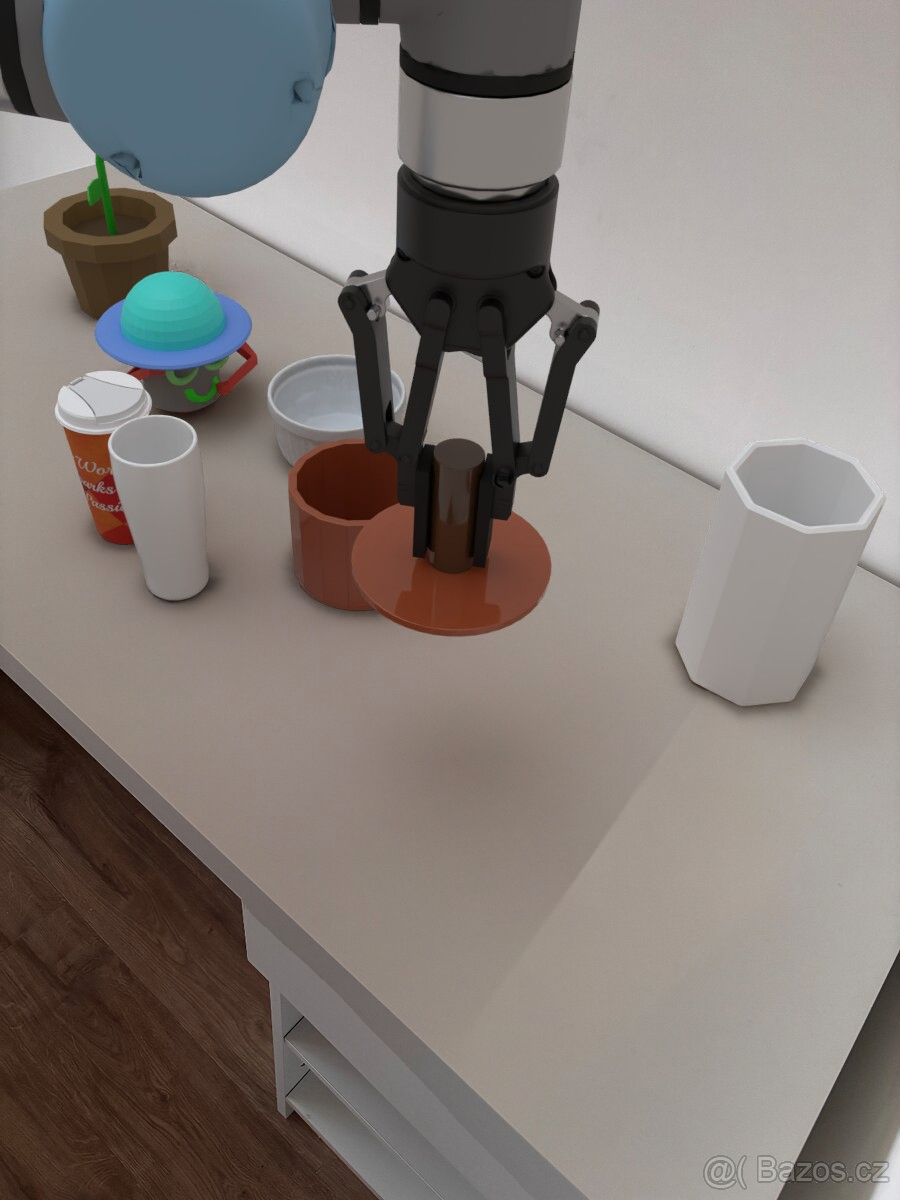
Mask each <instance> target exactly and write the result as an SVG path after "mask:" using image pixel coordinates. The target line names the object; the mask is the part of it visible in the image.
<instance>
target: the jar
mask: <svg viewBox="0 0 900 1200" xmlns="http://www.w3.org/2000/svg"><path fill="white" fill-rule="evenodd" d="M287 476H288V477H287V480H288V482H287V492H288V493H287V495H288V507H289V519H290V532H291V533H290V534H291V547H292V559H293V571H294V574H295V577H296V579H297V582H298V583H299V585H300V586H301V588H302V589H303V590H304V591H305V592H306V593H307V594H308V595H309V596H311V598H313V599H314V600H316V601H318V602H320V603H322V604H324V605H326V606H328V607H332V608H336V609H340V610H345V611H346V610H347V611H353V612H354V611H357V612H358V611H362V612H363V611H374V610H375V609H374V608H373V607H372V606H371V605H370V604H369V603H368V602H367V601H366V600H365V599H364V597H363V596H362V595H361V593H360V591H359V590H358V588H357V586H356V584H355V581H354V578H353V574H352V565H351V559H352V550H353V546H354V543H355V541H356V538H357V536H358V534H359V533H360V532H361V530H362V529H363V527H364V526H365V525H366V524H367V523H368V522H369V521H370V520H371V519H372V518H373V517H375V516H376V515H377V514H379V513H380V512H382V511H384V510H385V509H387V508H389V507H391V506H393V505H395V504H397V503H399V501H398V499H397V477H398V464H397V461H396V460H395V458H394V457H392V456H391V455H389V454H387V453H385V452H382V453H380V454H375V453H372V452H370V451H369V450H368V449H367V448H366V446H365V440H364V439H341V440H338V441H334V442H330V443H326V444H323V445H319V446H317V447H315V448H314V449H312V450H311V451H309V452H307V453H306V454H304V455H303V456H301V457H300V458H299V459H298V460H297V462H296V463H295V465H294V466H292V467H291V469H290V470H289V472H288V475H287Z"/></svg>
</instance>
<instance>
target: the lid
mask: <svg viewBox="0 0 900 1200" xmlns="http://www.w3.org/2000/svg"><path fill="white" fill-rule="evenodd" d="M435 445H436V446H435V448H434V450H433V457H432V478H431V498H430V519H429V540H428V549H427V552H426V556H425V559H424V558H418V557H413V529H414V507H411V506H404V505H400V503H397V504H395V505H393V506H391V507H389V508H387V509H385V510H384V511H382V512H380V513H379V514H377V515H376V516H375V517H373V518H372V519H371V520H370V521H369V522H368V523H367V524H366V525H365V526H364V527H363V529H362V530H361V532H360V533H359V534H358V536H357V538H356V541H355V543H354V546H353V550H352V559H351V565H352V574H353V578H354V581H355V584H356V586H357V588H358V590H359V591H360V593H361V595H362V596H363V597H364V599H365V600H366V601H367V602H368V603H369V604H370V605H371V606H372V607H373V608H374V609H373V610H375V611H376V612H378V613H379V614H380V615H381V616H382V617H384V618H386V619H388V620H389V621H391V622H393V623H394V624H396V625H399V626H402V627H404V628H406V629H409V630H412V631H415V632H418V633H422V634H426V635H433V636H440V637H448V638H449V637H450V638H452V637H457V638H461V637H463V638H464V637H474V636H481V635H487V634H490V633H493V632H497V631H500V630H503V629H506V628H507V627H511V626H512V625H515V624H516V623H518V622H520V621H521V620H523V619H525V617H527V616H528V615H530V613H532V612H533V611H534V610H535V609H536V608H537V607H538V606H539V604H540V603H541V602H542V600H543V599H544V597H545V595H546V593H547V591H548V590H549V587H550V582H551V576H552V557H551V553H550V551H549V547H548V545H547V543H546V542H545V540H544V538H543V536H542V535H541V534H540V533H539V531H538V530H537V529H536V528H535V527H534V526H533V525H532V524H531V523H530V522H529V521H527V520H526V519H525V518H524V517H522V516H521V515H520V514H518V513H517V512H515V511H513V510H512V512H511V516H510V517H509V518H508V520H507V521H505V520H498V519H493V528H492V537H491V543H490V547H489V552H488V556H487V560H486V565H485V568H481V567H475V566H473V555H474V544H475V532H476V521H477V510H478V499H479V488H480V480H481V476H482V472H483V469H484V466H485V460H486V451H485V450H484V448H483V446H481V444H479V443H477V442H475V441H473V440H471V439H468V438H461V437H453V438H447V439H444V440H441V441H440V442H439V443H437V444H435Z"/></svg>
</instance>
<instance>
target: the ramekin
mask: <svg viewBox="0 0 900 1200" xmlns="http://www.w3.org/2000/svg"><path fill="white" fill-rule="evenodd" d="M390 369H391V381H392V392H393V404H394V415H395V422H396V423H399V424H401V425H402V424H403V423H402V422H403V415H404V414H405V411H406V408H407V391H406V385H405V383H404V381H403V379H402V377H400V375H399V374H398V373H397V372H396V371H395V370H394V369H392V368H390ZM266 396H267V397H266V398H267V400H266V402H267V409H268V412H269V414H270V416H271V418H272V422H273V428H274V431H275V436H276V440H277V443H278V447H279V449H280V452H281V454H282V456H283V458H284V459H286V461H287V462H288V463H289V464H290V465H291V466H292V467H293V466H294V465H295V463H296V462H297V460H298V459H299V458H300V457H301V456H303V455H304V454H306V453H307V452H309V451H311V450H312V449H314V448H315V447H317V446H319V445H323V444H326V443H330V442H334V441H338V440H341V439H364V431H363V422H362V413H361V404H360V395H359V386H358V377H357V368H356V359H355V354H354V355H353V354H341V353H337V354H336V353H335V354H333V353H332V354H321V355H314V356H310V357H307V358H302V359H299V360H297V361H295V362H292V363H290V364H288V365H287V366H286V365H285V367H283V368H282V369H280V370H279V371H278V372H277V373H276V374H275V375H274V376H273V377H272V379H271V380H270V382H269V383H268V386H267V391H266Z"/></svg>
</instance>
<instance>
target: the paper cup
mask: <svg viewBox="0 0 900 1200" xmlns="http://www.w3.org/2000/svg"><path fill="white" fill-rule="evenodd" d="M126 373H127V372H122V371H118V370H117V371H116V370H98V371H92V372H88V373H84V375H83V377H82V376H79V377H77V378H76V379H73V380H72V381H69V382H68V385H63V386H62V387H61V388H60V390H59V392H58V395H57V402H56V404H55V407H54V415H55V418H56V420H57V422H58V423H59V424H60V425H61V426H62V428H63V431H64V434H65V437H66V440H67V443H68V447H69V450H70V452H71V455H72V459H73V462H74V465H75V467H76V471H77V474H78V477H79V481H80V483H81V486H82V488H83V492H84V495H85V498H86V501H87V504H88V507H89V510H90V512H91V516H92V518H93V521H94V525H95V527H96V530H97V532H98V534H99V535H100V537H101V538H103V540H105V541H107V542H109V543H112V544H117V545H132V544H134V541H133V538H132V535H131V532H130V529H129V526H128V523H127V520H126V517H125V514H124V511H123V508H122V506H121V503H120V499H119V496H118V493H117V490H116V486H115V482H114V478H113V473H112V468H111V462H110V456H109V449H108V441H109V438H110V436H111V434H112V433H113V432H114V431H115V430H116V429H117V428H118V427H119V426H121V425H122V424H124V423H126V422H128V421H130V420H132V419H135V418H139V417H143V416H149V415H150V413H151V410H152V407H153V405H152V400H151V397H150V395H149V394H148V392H147V391H146V390H145V388H144V384H142V383H141V380H137V379H136V378H135V377H133V376H131V375H129V374H126Z"/></svg>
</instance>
